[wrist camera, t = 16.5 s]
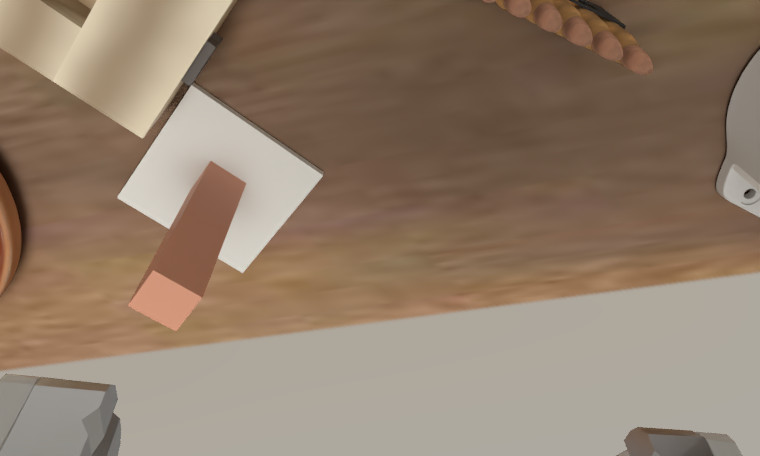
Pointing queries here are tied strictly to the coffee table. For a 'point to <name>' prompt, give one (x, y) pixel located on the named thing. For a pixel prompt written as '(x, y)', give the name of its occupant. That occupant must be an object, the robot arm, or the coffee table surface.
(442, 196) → the coffee table surface
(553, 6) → the ammunition clip
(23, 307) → the coffee table surface
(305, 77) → the coffee table surface
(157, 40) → the cream block with hole
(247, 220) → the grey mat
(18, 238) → the saucer
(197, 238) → the wooden block
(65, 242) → the coffee table surface
